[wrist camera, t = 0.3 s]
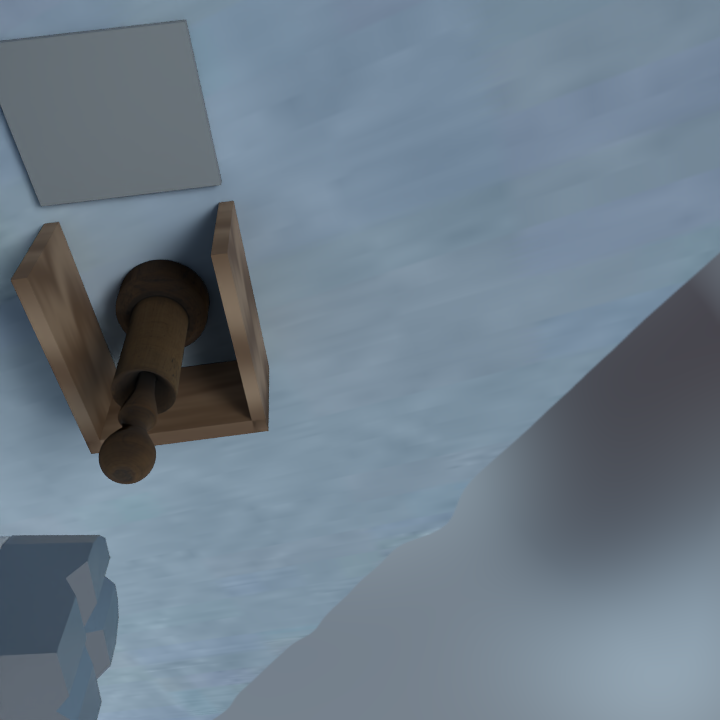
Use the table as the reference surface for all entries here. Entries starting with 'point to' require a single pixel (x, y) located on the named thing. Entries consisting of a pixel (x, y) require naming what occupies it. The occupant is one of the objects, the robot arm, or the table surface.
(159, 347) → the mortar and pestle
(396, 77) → the table surface
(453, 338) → the table surface
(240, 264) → the walnut bay
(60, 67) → the grey rubber mat
